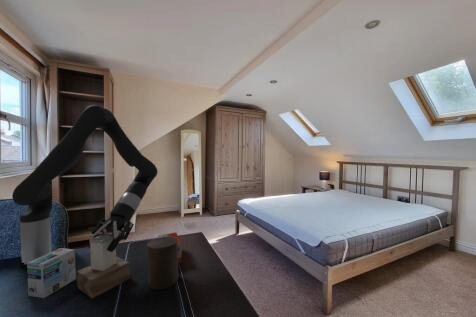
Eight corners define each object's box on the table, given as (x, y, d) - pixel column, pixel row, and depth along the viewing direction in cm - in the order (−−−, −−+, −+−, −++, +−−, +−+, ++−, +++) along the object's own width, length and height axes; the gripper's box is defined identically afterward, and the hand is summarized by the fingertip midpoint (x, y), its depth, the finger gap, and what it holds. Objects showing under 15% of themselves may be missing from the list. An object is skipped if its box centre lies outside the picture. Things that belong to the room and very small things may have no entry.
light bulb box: (44, 299, 64) (42, 264, 64) (27, 296, 66) (25, 262, 66) (77, 278, 75) (75, 248, 75) (61, 276, 76) (60, 247, 76)
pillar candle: (166, 292, 66) (165, 245, 66) (141, 287, 69) (140, 242, 69) (183, 275, 75) (182, 234, 75) (160, 271, 78) (159, 231, 78)
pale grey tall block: (90, 269, 70) (89, 239, 70) (104, 261, 75) (103, 233, 75) (103, 271, 68) (102, 240, 68) (116, 263, 74) (116, 234, 74)
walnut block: (77, 288, 69) (77, 271, 69) (115, 271, 80) (114, 255, 79) (92, 299, 64) (91, 280, 64) (130, 279, 74) (129, 262, 74)
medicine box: (158, 252, 94) (157, 234, 94) (176, 248, 97) (176, 231, 97) (161, 269, 80) (160, 248, 80) (182, 263, 83) (182, 244, 83)
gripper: (106, 200, 81) (76, 242, 70) (135, 202, 76) (108, 247, 65) (118, 210, 86) (92, 251, 75) (146, 213, 81) (123, 256, 71)
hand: (99, 249), depth 70 cm, fingers open, 8 cm apart
